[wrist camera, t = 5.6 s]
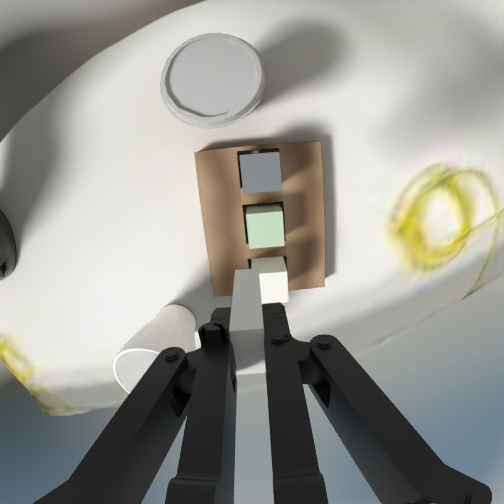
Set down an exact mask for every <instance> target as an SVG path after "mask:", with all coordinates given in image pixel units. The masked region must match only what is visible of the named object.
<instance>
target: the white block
mask: <svg viewBox="0 0 504 504" xmlns="http://www.w3.org/2000/svg"><path fill="white" fill-rule="evenodd" d="M253 268H259V278H260V288H261V299H262V304H266V303H277V302H280V303H286V302H288V278H287V269H286V265H285V262H284V258H283V256H278V257H267V258H255V259H252V264H251V269H253Z"/></svg>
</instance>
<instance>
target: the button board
mask: <svg viewBox="0 0 504 504" xmlns="http://www.w3.org/2000/svg"><path fill="white" fill-rule="evenodd" d="M271 148H278V152H279V154H280V167H281V179H282V191H270V192H258V193H247V194H243V186H242V187H241V181H240V171H239V161H238V151H247V150H258V149H271ZM194 154H195V163H196V172H197V180H198V188H199V196H200V204H201V211H202V218H203V225H204V232H205V239H206V246H207V253H208V259H209V266H210V272H211V278H212V284H213V290H214V296H227V295H233V286H234V277H235V270H242V269H249V260H248V259H255V258H267V257H278V256H285V257H286V269H287V278H288V290H298V289H309V288H318V287H325V220H324V190H323V170H322V155H321V142H300V143H280V144H266V145H253V146H243V147H233V148H224V149H216V150H208V151H200V152H194ZM269 202H282V208H283V223H284V243H285V246H277V247H265V248H254V249H249V240H248V239H246V231H245V221H244V211H243V205H246V204H257V203H269Z"/></svg>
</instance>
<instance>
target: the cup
mask: <svg viewBox="0 0 504 504" xmlns="http://www.w3.org/2000/svg"><path fill="white" fill-rule="evenodd" d="M195 327H196V320H195V318H194V316H193V314H192V313H191V312H190V311H189V310H188V309H187V308H185V307H183V306H180V305H175V304H172V305H167V306H165V307H163V308H162V309H161V310H160V312H159V313H158V314H157V316H156V317H155V318H154V319H153V320H152V321H151V322H150V323H148V324H147V325H146V326H144V327H143V328H142V329H141V330H139V331H138V332H137V333H136V334H135V335H134V336H133V337H132V338H131V339H130V340H129V341H128V342H127V343H126V344H125V345H124V346H123V348H122V349H121V350H120V352H119V353H118V354H117V356H116V358H115V360H114V365H113V370H114V373H115V376H116V378H117V380H118V382H119V383H120V385H121V386H122V387H123V388H124V389H125V390H126V391H127V392H128V393H129V394H130V393H131V391H132V390H133V389H134V387H135V386H136V384H137V383H138V382H139V380H140V379H141V378H142V376H143V375H144V373H145V372H146V371H147V369H148V368H149V367H150V365H151V364H152V363H153V361H154V360H155V359H156V357H157V356H158V354H159V353H160V352H161V351H162V350H164V349H166V348H169V347H179V348H182V349H183V350H184V351H185V353H187V352H191V351H195V350H196V346H195Z"/></svg>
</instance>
